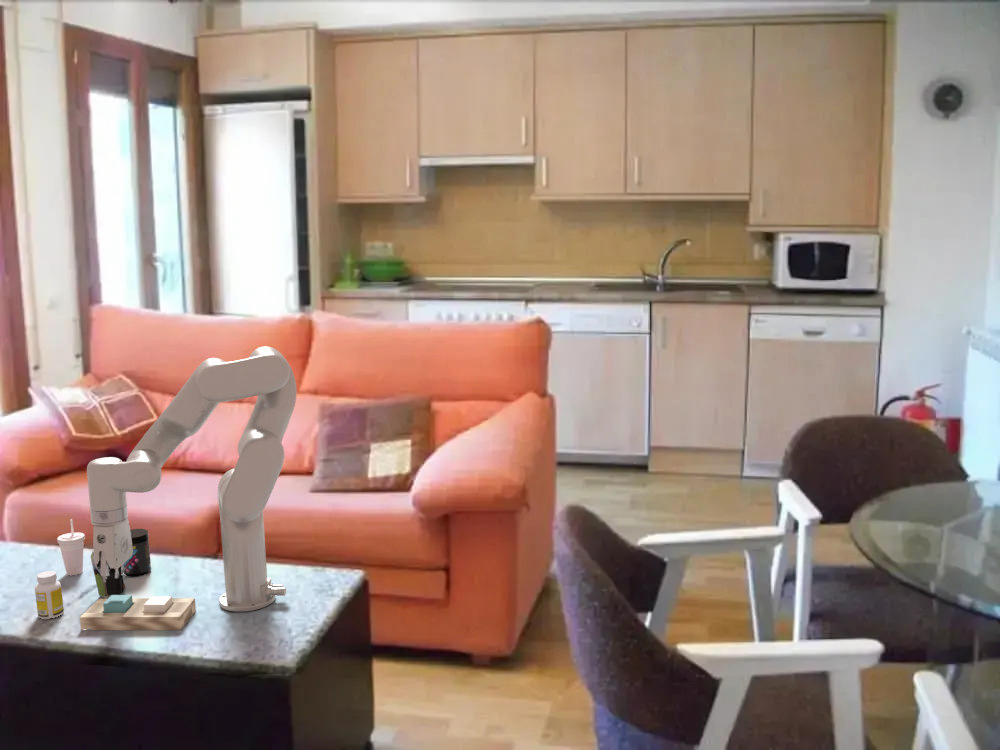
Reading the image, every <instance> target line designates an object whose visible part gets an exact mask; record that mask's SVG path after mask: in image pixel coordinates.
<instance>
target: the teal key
mask: <svg viewBox="0 0 1000 750" xmlns="http://www.w3.org/2000/svg"><path fill="white" fill-rule="evenodd" d="M132 598H133V595H132V594H121V595H111V596H110V597H109V598H106V599H107V600H106V601H105V602H104V603H103V607H104V613H126V612H127V611H128V610H129V609H130V608H131V607H132V605H133V600H132Z"/></svg>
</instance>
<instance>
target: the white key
mask: <svg viewBox="0 0 1000 750" xmlns="http://www.w3.org/2000/svg"><path fill="white" fill-rule="evenodd" d="M172 598H173V596H167V595H165V596H164V595H163V596H161V595H158V596H156V595H154V596H153V595H151V596H150V599H149V600H148V601H147V602H146V603H145V604H144V613H163V612H167V611H168V610H169V608H170V607H171V606H172Z"/></svg>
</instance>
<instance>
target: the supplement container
mask: <svg viewBox="0 0 1000 750" xmlns="http://www.w3.org/2000/svg"><path fill="white" fill-rule="evenodd" d="M130 531H131V538H132V547H133V554H132V556H131V557H130V558H129V559H128V560H127V561H126V562H125V563H124V564H123V576H125V577H128V578H129V577H130V578H138V577H139V578H140V577H143V576H146V575H148V574H149V573H150V572H151V570H152V562H151V550H150V540H149V538H150V537H149V530H147V529H146V528H134V529H133V528H132V529H131V528H130Z"/></svg>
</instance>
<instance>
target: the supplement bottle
mask: <svg viewBox="0 0 1000 750" xmlns="http://www.w3.org/2000/svg"><path fill="white" fill-rule="evenodd" d="M36 581H37V584H36V585H35V587H34V593H35V602H36V610H37V616H38V618H39V619H40V618H41V620H51V619H50V618H53V619H55V617H56V618H58V616H59V617H61V616H63V614H64V613H65V610H64V609H65V608H64V600H63V592H62V585H61V584H62V583H61V582H60V581H59V580H57V572H56V571H55V570H47V571H43V572H40V573H38V574H37V575H36ZM60 615H61V616H60Z"/></svg>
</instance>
